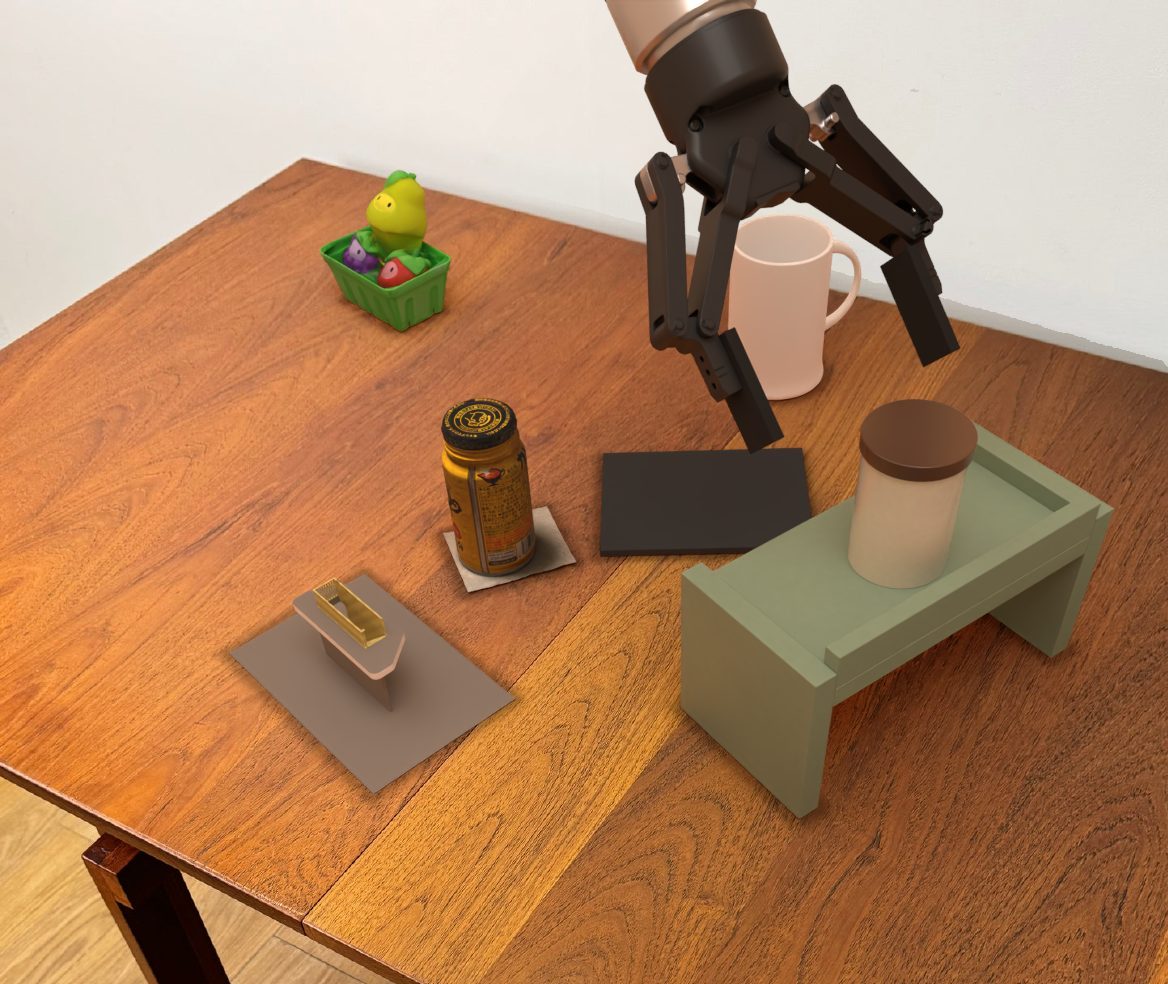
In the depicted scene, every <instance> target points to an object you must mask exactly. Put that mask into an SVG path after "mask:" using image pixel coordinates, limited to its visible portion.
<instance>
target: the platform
mask: <svg viewBox="0 0 1168 984" xmlns="http://www.w3.org/2000/svg"><path fill="white" fill-rule="evenodd" d="M292 605H293V608H294V611H296V613H295V614H293V615H291V616H290V617H288V618H287V619H285V620H283V621H281V622H280V623H278V624H276V625H274V626H273V627H271V628H269V629H268V630H266V631H264V632H263V633H260V634H259V635H257V636H255V637H254V638H251V639H250V640H248V641H247V642H246V643H244V644H242V645H240V646H239V647H237V648H235V649H234V650H232V651H230V652H229V653H228V654H229V655H230V656H231V657H232V658H233V659H234V660H236V662H237V663H238V664H239V665H240V666H241V667H242V668H243V669H245V671H246V672H248V673H249V674H250V676H252V677H253V678H254V679H255V680H256V681H257V682H258V684H260V685H261V686H262V687H263V688H264V689H265V690H266V691H267V692H268V693H269V694H270V695H271V696H272V697H273V698H274V699H275V700H276V701H277V702H278V703H279V704H280V705H281V706H282V707H283V708H284V709H286V710H287V712H288V713H289V714H291V716H293V717H294V718H295V719H296V720H297V721H298V722H299V724H301V725H302V727H304V728H305V729H306V730H307V731H308V732H309V733H310V734H311V735H312V736H313V737H314V738H315V739H316V740H317V741H318V742H319V743H320V744H321V745H322V746H323V747H325V748H326V750H328V752H329V753H330V754H331V755H333V756H334V758H336V759H337V761H339V763H341V764H342V765H343V767H344V768H346V769H347V770H348V771H349V772H350V773H351V774H352V775H353V776H354V777H355V778H356V779H357V780H358V781H359V782H360V783H361V784H362V785H364V787H365V788H366V789H367V790H369V792H370V793H372V794H373V795H374V794H376V793H377V792H379V791H380V790H382V789H383V788H385V787H386V786H388V785H390V784H391V783H393V782H394V781H395V780H396V779H398V778H399V777H401V776H403V775H404V774H405V773H407V772H409V771H410V770H411V769H413V768H414V767H417V766H418V765H419V764H420V763H422V762H423V761H425V760H426V759H428V758H429V757H431V756H432V755H434V754H436V753H437V752H438V751H440V750H442V749H443V748H444V747H446V746H447V745H449V744H450V743H451V742H453V741H455V740H456V739H457V738H459V737H460V736H462V735H463V734H466V732H468V731H470V730H472V729H473V728H474V727H475V726H477V725H478V724H480V723H481V722H483V721H484V720H486V719H488V718H489V717H491V716H492V715H493V714H495V713H497V712H498V711H499V710H501V709H503V708H504V707H505V706H507V705H508V704H510V703H511V702H513V701H514V700H516V698H515V696H513V695H512V694H510V692H508V691H507V690H506V689H505V688H504V687H502V686H501V685H500V684H499V683H497V681H495V680H494V679H492V677H490V676H489V675H488V674H486V673H485V672H484V671H483V670H481V668H479V667H478V666H477V665H475V664H474V663H473V662H472V661H471V660H469V659H468V658H467V657H466V656H465V655H463V654H462V653H461V652H460V651H459V650H457V649H456V647H454V646H453V645H452V644H451V643H449V642H448V641H446V640H445V639H444V638H443V637H442V636H441V635H439V634H438V633H437V632H436V631H435V630H433V629H432V628H431V627H430V626H429V625H428V624H426V623H425V622H424V621H423V620H421V618H419V617H418V616H416V615H415V614H414V613H413V612H411V611H410V609H408V608H407V607H405V606H404V604H402V603H401V602H399V600H397V599H396V598H395V597H394V596H392V595H391V594H390V593H389V592H388V591H386V590H385V589H383V588H382V586H380V585H379V584H378V583H376V582H375V581H374V580H373V579H372V578H371V577H369V576H368V575H367V574H366V573H363V574H361V575H359V576H357V577H356V578H355V579H353V580H351V581H349V582H347V583H342V582H340V580H339V579H337V578H336V577H333V578H331V579H329V580H327V581H325V582H323V583H322V584H320V585H318V586H317V587H315V588H313V589H312V590H307V591H305V592H303V593H302V594H300V595H298V596H296V597H294V599H293V600H292Z"/></svg>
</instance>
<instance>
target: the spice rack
mask: <svg viewBox="0 0 1168 984" xmlns="http://www.w3.org/2000/svg"><path fill="white" fill-rule="evenodd" d="M971 421H972V422H973V424H974V425H975V427H976V430H977V434H978V441H977V446H976V450H975V455H974V458H973V460H972V462H971V463H970V464H969V465H968V470H967V474H966V479H965V483H964V488H963V492H962V497H961V501H960V506H959V510H958V515H957V519H956V524H955V528H954V533H953V538H952V542H951V547H950V551H949V556H948V560H947V564H946V567H945V569H944V571H943V572H942V574H941V575H940V576H939V577H938V578H937V579H935V580H934V581H932V582H930V583H928V584H926V585H923V586H920V587H916V588H909V589H895V588H888V587H883V586H879V585H876V584H874V583H871V582H869V581H867V580H866V579H864V578H863V577H861V576H860V575H859V574H857V573H856V571H855V570H854V569H853V568H852V566H851V565H850V563H849V560H848V556H847V551H848V544H849V536H850V529H851V522H852V515H853V508H854V500H855V494H854V495H852V496H850V497H847V499H843V501H840V502H839V503H837V504H835V505H833V506H831V507H829V508H827V509H826V510H823V511H822V512H821V513H819V514H817V515H815V516H812V517H811V519H809V520H807V521H805V522H804V523H802V524H800V525H798V526H796V527H794V528H792V529H791V530H789V531H787V532H785V533H783V534H781V535H780V536H778V537H776V538H774V539H772V540H770V541H768V542H767V543H765V544H763V545H761V546H759V547H757V548H755V549H754V550H752V551H750V552H748V553H743V554H742V555H741V556H739V557H737V558H734V559H733V560H731V561H730V562H728V563H726V564H724V565H722V566H720V567H718V568H716V569H714V570H712V569H711V568H709V567H708V566H707V565H706V564H705V563H703V562H702V561H701V562H699V563H696V564H695V565H693V566H691V567H690V568H688V569H685V570H684V571H682V572H681V573H680V697H679V699H680V700H679V701H680V703H679V704H680V705H679V706H680V709H681V710H683V712H684V713H686V714H687V715H688V716H689V717H690V718H691V719H692V720H693V721H694V722H695V723H696V724H697V725H699V726H700V727H701V728H702V729H703V730H704V731H705V732H706V733H707V734H708V735H709V736H710V737H711V738H712V739H714V740H715V742H717V744H718V745H720V746H721V747H722V748H723V750H725V751H726V752H727V753H728V754H729V755H730V756H732V758H733V759H734V760H735V761H737V762H738V763H739V765H741V766H742V767H743V768H744V769H745V770H746V771H747V772H748V773H749V774H751V775H752V776H753V777H754V779H755V780H757V781H758V782H759V783H760V784H761V785H762V787H763V788H765V789H766V790H767V791H769V792H770V793H771V794H772V795H773V796H774V797H775V798H776V799H777V800H778V801H779V802H780V803H781V804H782V805H783V806H784V807H785V808H786V809H787V810H789V812H791V813H792V814H793V815H794V817H796V818H797V819H799V820H800V819H802V818H803V817H805V816H806V815H808V814H810V813H811V812H812V811H814V810H816V809H817V808H819V803H820V796H821V789H822V782H823V781H822V780H823V774H824V770H825V769H824V767H825V760H826V754H827V747H828V741H829V734H830V727H831V721H832V720H831V719H832V713H833V707H835V706H837V705H840V703H842V702H843V701H845V700H847V699H848V698H850V697H851V696H854V695H855V694H857V693H858V692H860V691H861V690H863V689H865V688H866V687H868V686H870V685H872V684H873V683H875V682H876V681H879V680H880V679H881V678H883V677H885V676H886V675H888V674H889V673H891V672H893V671H895V670H896V669H898V668H899V667H902V666H903V665H904V664H906V663H908V662H909V661H911V660H913V659H914V658H916V657H917V656H919V655H921V654H922V653H924V652H927V650H928V649H930V648H932V647H934V646H936V645H937V644H939V643H940V642H942V641H944V640H945V639H947V638H949V637H950V636H952V635H953V634H955V633H957V632H958V631H960V630H962V629H963V628H965V627H967V626H968V625H971V624H972V623H973V622H975V621H976V620H978V619H979V618H981V617H983V616H985V615H986V614H989V615H990V616H992V617H993V618H994V619H996V620H997V621H999V622H1000V623H1002V624H1003V625H1004V626H1005V627H1007V628H1009V629H1010V630H1011V631H1013V632H1014V633H1015V634H1017V635H1018V636H1019V637H1021V638H1022V639H1023V640H1025V641H1027V643H1029V644H1031V645H1032V646H1033V647H1034V648H1036V649H1037V650H1039V651H1040V652H1042V653H1043V654H1044V655H1046V656H1047V657H1049V658H1050V659H1052V658H1053V657H1055V656H1056V655H1058V654H1060V653H1061V652H1063V651H1065V650H1066V649H1067V648H1068V645H1069V642H1070V639H1071V637H1072V633H1073V631H1074V628H1075V626H1076V625H1075V624H1076V622H1077V619H1078V616H1079V612H1080V610H1081V607H1082V604H1083V602H1084V598H1085V595H1086V592H1087V590H1088V586H1089V583H1090V580H1091V577H1092V574H1093V572H1094V569H1095V565H1096V564H1097V560H1098V558H1099V554H1100V551H1101V548H1102V546H1103V542H1104V540H1105V537H1106V534H1107V530H1108V528H1109V525H1110V522H1111V520H1112V516H1113V513H1114V510H1115V508H1114V507H1112V506H1111V505H1109V504H1108V503H1106V502H1104V501H1102V500H1101V499H1099V498H1097V497H1096V496H1095V495H1093V494H1091V493H1090V492H1088V491H1086V490H1085V489H1083V488H1081V487H1080V486H1078V485H1077V484H1075V483H1074V482H1072V481H1070V480H1069V479H1067V478H1066V477H1064V476H1062V475H1061V474H1059V473H1058V472H1056V471H1054V470H1052V469H1051V468H1049V467H1048V466H1046V465H1044V464H1042V463H1041V462H1040V461H1038V460H1036V459H1035V458H1033V457H1032V456H1030V455H1028V454H1026V453H1025V452H1023V451H1022V450H1020V449H1018V448H1017V447H1016V446H1014V445H1012V444H1010V443H1009V442H1007V441H1006V440H1004V439H1002V438H1001V437H999V436H997V435H995V433H992V432H991V431H990V430H987V429H986V428H985V427H983V426H981V425H979V424H978V423H977V422H975V421H973V420H971Z"/></svg>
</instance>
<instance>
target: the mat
mask: <svg viewBox="0 0 1168 984" xmlns="http://www.w3.org/2000/svg"><path fill="white" fill-rule="evenodd" d="M601 479H602V480H601V509H600V510H601V511H600V536H599V537H600V538H599V556H600V557H633V556H635V557H637V556H678V555H680V556H681V555H718V554H719V555H722V554H746V553H748V552H750V551H752V550H754V549H755V548H757V547H759V546H761V545H763V544H765V543H767V542H768V541H770V540H772V539H774V538H776V537H778V536H780V535H781V534H783V533H785V532H787V531H789V530H791V529H792V528H794V527H796V526H798V525H800V524H802V523H804V522H805V521H807V520H809V519H811V518H812V513H811V506H810V497H809V489H808V482H807V474H806V467H805V458H804V451H803V447H775V448H774V447H773V448H772V447H771V448H762V449H760V450H758V451H756V452H754V453H752V454H750V453H749V451H748V448H739V449H737V448H736V449H706V450H705V449H702V450H701V449H699V450H698V449H697V450H667V451H665V450H663V451H631V452H630V451H629V452H627V451H625V452H603V453H602V477H601Z"/></svg>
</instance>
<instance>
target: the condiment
mask: <svg viewBox="0 0 1168 984" xmlns="http://www.w3.org/2000/svg"><path fill="white" fill-rule="evenodd" d="M440 432H441V434H442V439H443V441H442V443H443V450H442V451H441V452H442V453H441V463H442V464H441V468H442V471H443V477H444V483H445V488H446V489H445V490H446V494H447V499H448V500H447V502H448V503H447V504H448V506H449V511H450V517H451V523H452V525H451V527H452V531H449V532H443V533H442V534H443V536H444V539H445V541H446V544H447V546H448V548H449V551H450V553H451V556H452V558H453V561H454V563H455V565H456V568H457V571H458V573H459V575H460V577H461V579H462V581H463V584H464V586H465V588H466V591H467V593H471V592H474V591H479V590H481V589H486V588H491V587H495V586H497V585H503V584H506V583H510V582H512V581H516V580H517V581H518V580H519V579H522V578H526V577H528V576H531V575H533V574H539V573H543V572H547V571H551V570H555V569H557V568H560V567H562V566H565V565H571V564H574V563H577V560H576V558H575V557H574V555H573V554H572V552H571V551H570V550H571V549H570V548H569V546H568V544H567V543H566V541H565V539H564V537H563V535H562V533H561V532H560V530H559V528H558V525H557V524H556V521H555V520H554V518H553V516H552V513H551V512H550V509H549V508H548V506H547V505H546V506H543V507H537V508H533V505H532V494H531V486H530V476H529V467H528V457H527V450H526V446H525V444H524V441H522V439H521V436H520V431H519V429H518V419H517V416H516V413H515V412H514V410H513V408H512V407H511V406H510V405H509V404H508V403H506V402H503V401H501V400H498V399H494V398H490V397H489V398H487V397H479V398H477V397H476V398H470V399H466V400H464V401H462V402H458V403H457V404H455V405H454V406H453V407H450V408H449V409H448V410H446V412H445V414H444V415H443V418H442V421H441V426H440Z"/></svg>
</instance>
